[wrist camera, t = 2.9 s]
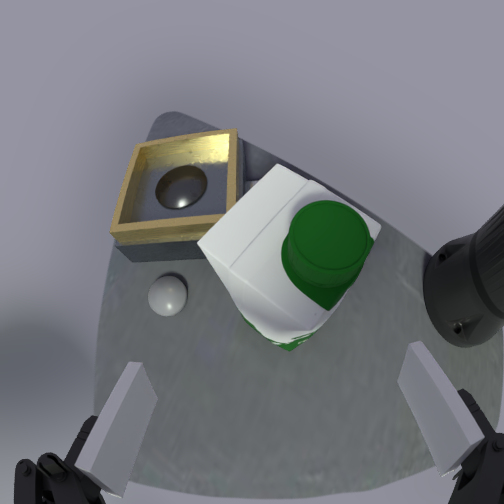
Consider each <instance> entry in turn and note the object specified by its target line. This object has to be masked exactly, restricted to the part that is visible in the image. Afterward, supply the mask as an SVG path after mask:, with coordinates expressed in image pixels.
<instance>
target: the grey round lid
mask: <svg viewBox="0 0 504 504" xmlns="http://www.w3.org/2000/svg"><path fill="white" fill-rule="evenodd" d="M187 298H188V293H187V289H186V287H185V285H184V284H183V283H182V282H181V281H180V280H179V279H178V278H176V277H173V276H164V277H161V278H159V279H158V280H156V281H155V282H154V283H153V284H152V286H151V288H150V290H149V294H148V301H149V304H150V306H151V308H152V309H153V310H154V311H155V312H156V313H158V314H160V315H162V316H167V317H169V316H174V315H176V314H178V313H179V312H181V311H182V310H183V308H184V307H185V305H186V303H187Z"/></svg>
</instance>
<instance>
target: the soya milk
mask: <svg viewBox="0 0 504 504" xmlns="http://www.w3.org/2000/svg"><path fill="white" fill-rule="evenodd" d="M380 229H381V225H380V224H379V223H378V222H376V221H375V220H373V219H372V218H370V217H369V216H367V215H366V214H364V213H363V212H361V211H360V210H358V209H357V208H355V207H354V206H352V205H351V204H349V203H348V202H346V201H345V200H343V199H341V198H340V197H338V196H337V195H335V194H333V193H332V192H330V191H329V190H327V189H326V188H325V187H324V186H322V185H320V184H319V183H317V182H315V181H313V180H307V179H305V178H304V177H302V176H300V175H298V174H296V173H295V172H293V171H291V170H289V169H287V168H286V167H284V166H282V165H280V164H276V165H275V166H274V167H273V168H272V169H271V170H270V171H269V172H268V173H267V174H266V175H265V176H264V177H263V178H262V179H261V180H260V181H258V182H257V183H256V184H255V185H254V186H253V187H252V188H251V189H250V190H249V191H248V192H247V193H246V194H245V195H244V196H243V197H242V198H241V199H240V200H239V201H238V202H237V203H236V204H235V205H234V206H233V207H232V208H231V209H230V210H229V211H228V212H227V213H226V214H225V215H224V216H223V217H222V218H221V219H220V220H219V221H218V222H217V223H216V224H215V225H214V226H213V227H212V228H211V229H210V230H209V231H208V232H207V233H206V234H205V235H204V236H203V237H202V238H201V239H200V240H199V241H198V242H197V244H198V246H199V247H200V248H201V250H202V251H203V253H204V254H205V256H206V257H207V259H208V261H209V262H210V264H211V265H212V267H213V268H214V270H215V271H216V273H217V274H218V276H219V277H220V279H221V281H222V282H223V284H224V285H225V287H226V288H227V290H228V291H229V293H230V295H231V297H232V299H233V300H234V302H235V304H236V306H237V308H238V309H239V311H240V313H241V315H242V317H243V318H244V320H245V321H246V322H247V323H248V324H249V325H250V326H251V327H252V328H253V329H255V330H256V331H257V332H258V333H260V334H261V335H262V336H264V337H265V338H266V339H268V340H269V341H271V342H272V343H274V344H276V345H277V346H279V347H281V348H283V349H285V350H288V351H291V350H293V349H294V348H296V347H297V346H299V345H300V344H301V343H303V342H304V341H306V340H307V339H309V338H310V337H311V336H312V335H313V334H314V333H315V332H316V331H317V330H318V329H319V328H320V327H321V326H322V325H323V324H324V323H325V321H326V320H327V319H328V318H329V317H330V316H331V315H332V313H333V312H334V311H335V310H336V308H337V307H338V306H339V304H340V303H341V301H342V300H343V298H344V296H345V295H346V293H347V291H348V290H349V288H350V287H351V286H352V284H353V283H354V282H355V280H356V279H357V277H358V275H359V274H360V272H361V269H362V267H363V265H364V262H365V260H366V258H367V256H368V254H369V252H370V250H371V248H372V246H373V244H374V241H375V239H376V237H377V235H378V233H379V231H380Z"/></svg>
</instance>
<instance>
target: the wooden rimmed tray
mask: <svg viewBox="0 0 504 504" xmlns="http://www.w3.org/2000/svg"><path fill="white" fill-rule="evenodd" d="M258 181H260V180H255V181H246V160H245V153H244V146H243V139H238V133H237V129H227V130H217V131H209V132H201V133H194V134H188V135H181V136H175V137H170V138H164V139H159V140H154V141H149V142H144V143H140V144H136V146H135V148H134V151H133V154H132V157H131V160H130V162H129V165H128V168H127V172H126V175H125V178H124V181H123V184H122V187H121V191H120V194H119V198H118V201H117V205H116V208H115V212H114V217H113V220H112V224H111V228H110V234H111V235H112V236H113V237H114V238H115V239H116V245H115V247H116V248H117V249H119V250H120V251H121V252H122V253H123V254H124V255H125V256H126V257H127V258H128V259H129V260H130V261H132V262H150V261H169V260H187V259H204V258H207V257H206V256H205V254H204V253H203V251H202V250H201V248H200V247H199V246H198V244H197V242H198V241H199V240H200V239H201V238H202V237H203V236H204V235H205V234H206V233H207V232H208V231H209V230H210V229H211V228H212V227H213V226H214V225H215V224H216V223H217V222H218V221H219V220H220V219H221V218H222V217H223V216H224V215H225V214H226V213H227V212H228V211H229V210H230V209H231V208H232V207H233V206H234V205H235V204H236V203H237V202H238V201H239V200H240V199H241V198H242V197H243V196H244V195H245V194H246V193H247V192H248V191H249V190H250V189H251V188H252V187H253V186H254V185H255V184H256V183H257V182H258Z"/></svg>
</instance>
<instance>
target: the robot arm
mask: <svg viewBox="0 0 504 504" xmlns="http://www.w3.org/2000/svg"><path fill="white" fill-rule="evenodd" d="M424 298H425V303H426V308H427V311H428V314H429V316H430V319H431V321H432V323H433V325H434V326H435V328H436V330H437V331H438V332H439V333H440V335H441V336H442V337H443V338H444V339H445V340H447V341H448V342H449V343H451V344H453V345H455V346H458V347H465V348H466V347H472V346H476V345H479V344H482V343H484V342H486V341H488V340H489V339H490V338H491V337H493V336H494V335H495V334H496V333H497V332H498V331H499V330H500V329H501V328H502V327H503V326H504V204H503V206H502V207H501V208H500V209H499V210H498V211H497V212H496V213H495V214H494V215H493V216H492V217H491V218H490V219H489V220H488V221H487V222H486V223H485V224H484V225H483V226H482V227H481V228H480V229H479V230H478V231H477V232H476V233H474V234H470V235H468V236H465V237H462V238H458V239H455V240H452V241H450V242H448V243H446V244H445V245H444V246H442V247H441V248H440V249H439V250H438V251H437V252H436V253H435V254H434V255H433V257H432V258H431V260H430V261H429V263H428V266H427V269H426V272H425V277H424ZM397 383H398V385H399V387H400V389H401V391H402V393H403V395H404V397H405V399H406V401H407V403H408V405H409V407H410V409H411V411H412V413H413V415H414V417H415V419H416V421H417V424H418V426H419V428H420V430H421V432H422V434H423V437H424V439H425V441H426V443H427V446H428V448H429V450H430V453H431V455H432V457H433V460H434V462H435V464H436V467H437V469H438V472H439V474H440V476H441V477H442V476H444V475H446V474H448V473H450V472H452V471H454V470H455V469H456V468H457V467H458V466H459V465H460V464H461V466H462V469H461V470H460V471H459V472H458V473H457V474H456V475H455V476H454V477H453V480H455V479H456V478H457V477H458V479H457V482H456V485H455V487H454V490H453V493H452V495H451V498H450V500H449V503H448V504H504V434H502V433H496V432H495V431H494V430H493V428H492V426H491V425H490V423H489V421H488V420H487V418H486V417H485V415H484V413H483V412H482V410H480V407H479V406H478V404H476V401H475V400H474V398H473V397H472V395H471V394H470V393H468V392H467V391H466V390H464V389H461V390H459V391H456V389H455V388H454V386H453V385H452V383H451V382H450V380H449V379H448V378H447V376H446V375H445V373H444V372H443V370H442V369H441V367H440V366H439V365H438V363H437V362H436V360H435V359H434V358H433V356H432V355H431V353H430V352H429V351H428V349H427V348H426V347H425V345H424V344H423V343H422V341H417V342H413V343H409V344H408V348H407V351H406V355H405V358H404V362H403V365H402V368H401V371H400V374H399V377H398V380H397ZM157 399H158V398H157V396H156V394H155V392H154V390H153V387H152V385H151V383H150V381H149V378H148V376H147V374H146V371H145V369H144V366H143V364H142V363H139V362H129V363H128V364H127V366H126V368H125V370H124V371H123V373H122V375H121V377H120V378H119V380H118V382H117V384H116V386H115V387H114V389H113V391H112V393H111V395H110V396H109V398H108V400H107V402H106V404H105V406H104V408H103V409H102V411H101V413H100V415H99V417H97V416H93V415H92V416H91V417H90V418H88V419H87V420H86V421H85V422H84V424H83V426H82V428H81V430H80V432H79V433H78V435H77V438H76V439H75V441H74V442H73V444H72V446H71V448H70V450H69V452H68V454H67V456H66V458H65V460H64V461H62V460H61V459H60V458H59V457H58V456H57V455H56V454H53V453H45V454H43V455H41V457H40V458H39V459H38V461H37V465H35V464H34V463H33V462H32V461H31V460H29V459H22V460H20V461H19V462H18V463H17V465H16V469H15V483H14V504H106V503H105V501H104V499H103V497H102V495H101V494H100V491H101V489H103V490H104V491H105V492H106V493H108V494H110V495H113V496H117V497H120V498H123V495H124V492H125V489H126V486H127V483H128V480H129V477H130V474H131V471H132V468H133V465H134V462H135V460H136V457H137V454H138V451H139V448H140V445H141V443H142V440H143V437H144V434H145V432H146V429H147V426H148V423H149V421H150V418H151V415H152V413H153V410H154V407H155V405H156V402H157ZM42 496H43V499H42Z"/></svg>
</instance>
